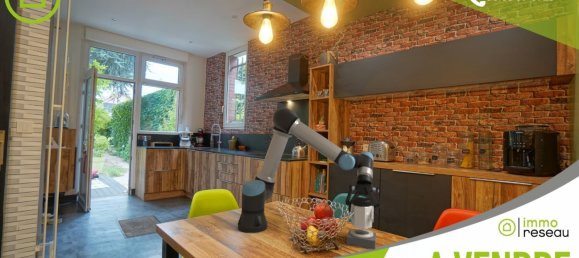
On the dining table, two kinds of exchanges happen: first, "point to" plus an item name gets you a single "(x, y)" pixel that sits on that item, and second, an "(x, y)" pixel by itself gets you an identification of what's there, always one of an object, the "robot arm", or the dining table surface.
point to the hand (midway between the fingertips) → (361, 219)
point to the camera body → (361, 238)
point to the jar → (362, 213)
